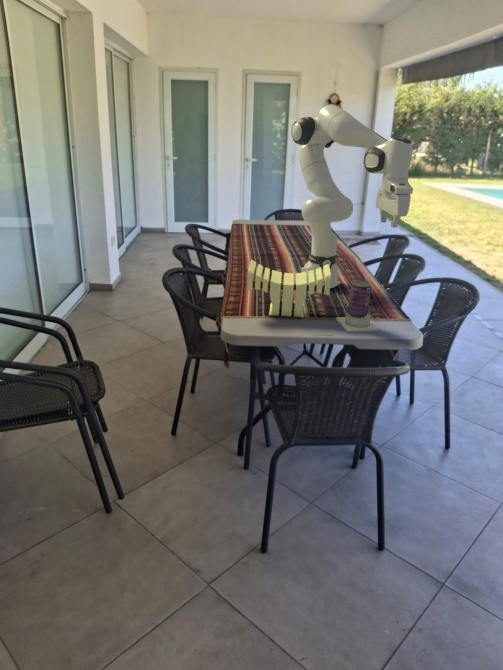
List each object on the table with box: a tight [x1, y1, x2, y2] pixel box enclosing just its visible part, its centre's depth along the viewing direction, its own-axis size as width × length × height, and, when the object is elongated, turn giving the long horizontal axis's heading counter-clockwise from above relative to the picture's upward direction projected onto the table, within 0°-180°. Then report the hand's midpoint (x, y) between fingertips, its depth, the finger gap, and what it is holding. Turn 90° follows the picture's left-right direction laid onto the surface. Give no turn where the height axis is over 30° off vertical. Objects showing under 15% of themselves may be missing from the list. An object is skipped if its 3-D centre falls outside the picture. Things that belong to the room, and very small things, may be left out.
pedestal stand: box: [335, 311, 380, 333], centre depth 178 cm, size 12×12×4 cm
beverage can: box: [347, 280, 372, 318], centre depth 175 cm, size 7×7×12 cm
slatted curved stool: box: [246, 259, 331, 318], centre depth 186 cm, size 30×16×18 cm, turn 85°
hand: (388, 224), depth 180 cm, fingers open, 8 cm apart
